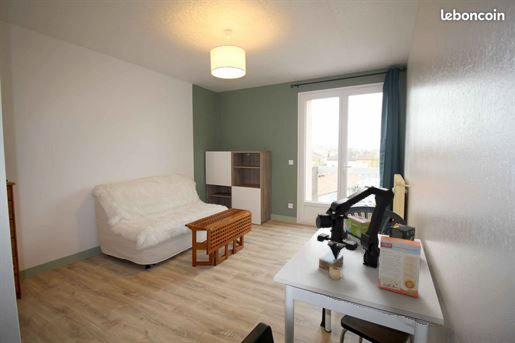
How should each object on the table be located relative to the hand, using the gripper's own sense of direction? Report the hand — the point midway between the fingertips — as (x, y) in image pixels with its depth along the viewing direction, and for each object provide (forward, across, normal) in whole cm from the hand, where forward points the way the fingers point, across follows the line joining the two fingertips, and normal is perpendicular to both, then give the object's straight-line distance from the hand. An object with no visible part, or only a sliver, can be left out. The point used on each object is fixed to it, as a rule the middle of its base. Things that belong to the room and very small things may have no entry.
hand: (336, 258), depth 117 cm
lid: (+1, +2, 0) cm, 2 cm away
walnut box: (+4, +2, 0) cm, 5 cm away
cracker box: (+4, -27, +1) cm, 27 cm away
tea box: (+4, +5, -44) cm, 45 cm away
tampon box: (+4, -19, -44) cm, 48 cm away
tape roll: (+4, -4, +10) cm, 12 cm away
